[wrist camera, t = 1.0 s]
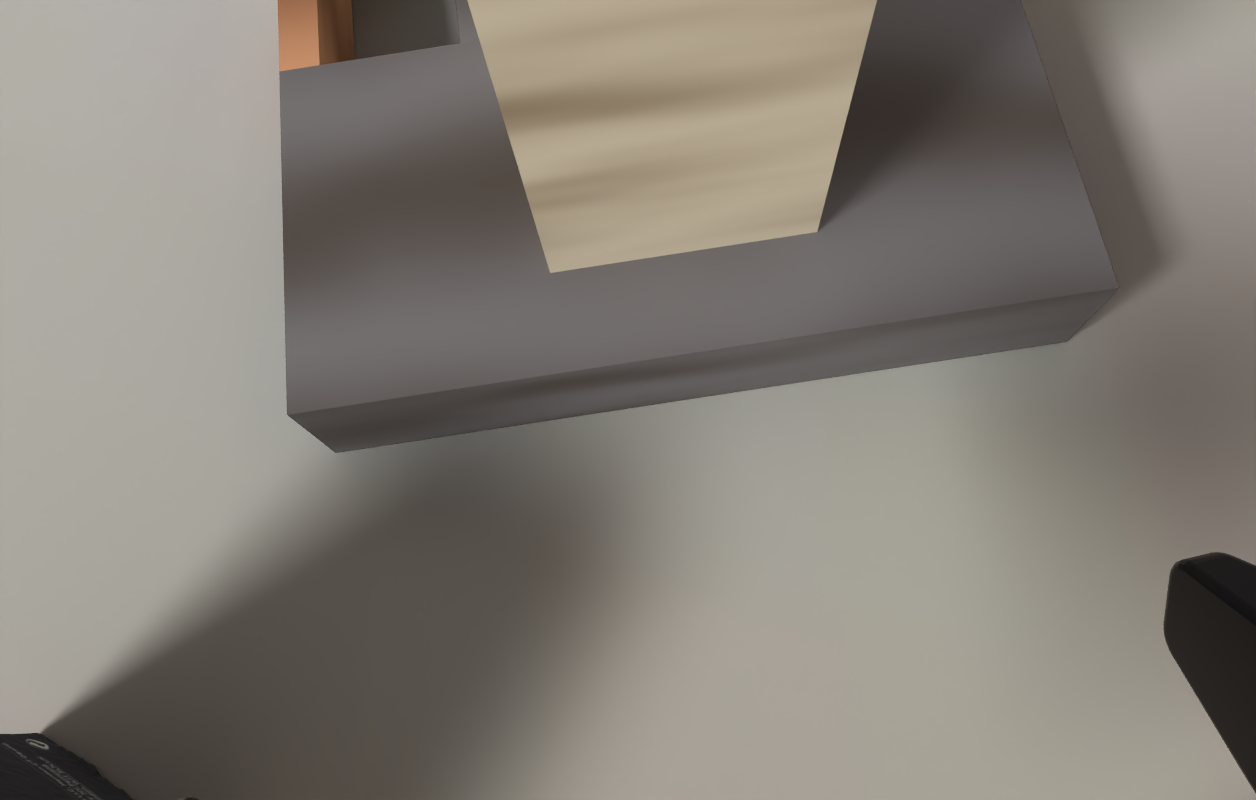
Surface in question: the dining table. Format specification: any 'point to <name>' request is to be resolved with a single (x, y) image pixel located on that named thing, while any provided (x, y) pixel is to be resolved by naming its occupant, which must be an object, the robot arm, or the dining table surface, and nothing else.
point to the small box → (48, 772)
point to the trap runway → (671, 284)
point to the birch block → (671, 117)
